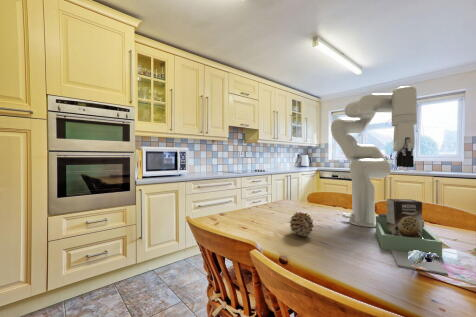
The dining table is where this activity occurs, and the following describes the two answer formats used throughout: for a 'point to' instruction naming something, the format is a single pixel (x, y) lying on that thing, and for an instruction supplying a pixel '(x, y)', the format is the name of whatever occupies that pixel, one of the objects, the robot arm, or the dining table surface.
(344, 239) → the dining table surface
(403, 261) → the mat
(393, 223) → the cookie box
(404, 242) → the tray
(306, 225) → the pine cone
